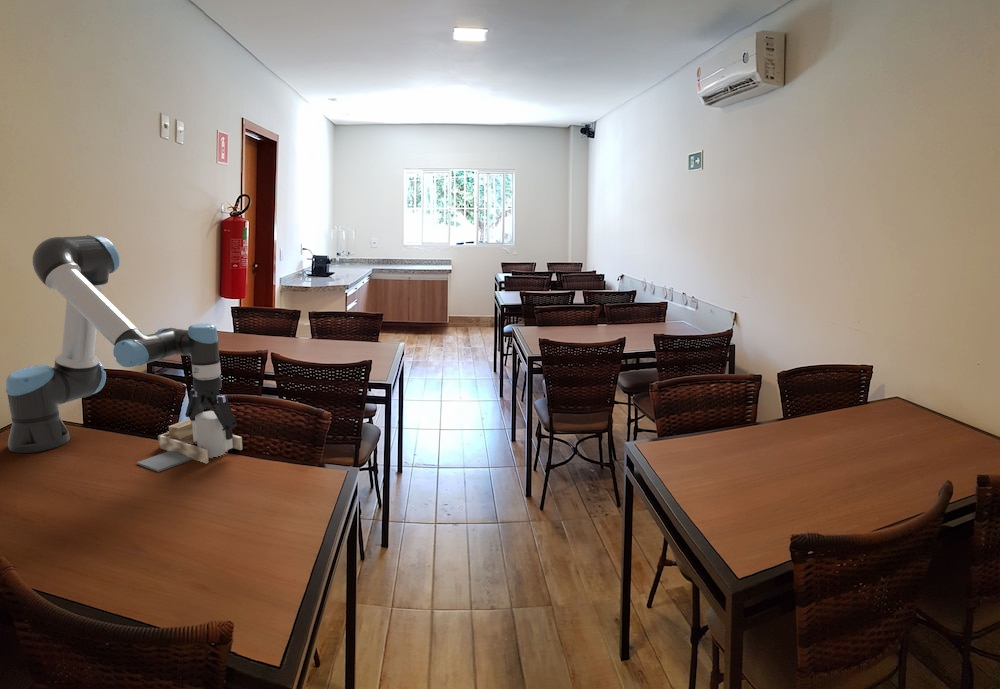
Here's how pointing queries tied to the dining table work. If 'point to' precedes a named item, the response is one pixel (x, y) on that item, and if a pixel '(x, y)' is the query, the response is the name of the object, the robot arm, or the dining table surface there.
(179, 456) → the mat
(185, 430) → the offcut top
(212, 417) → the cup
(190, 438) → the offcut low
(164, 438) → the rack
